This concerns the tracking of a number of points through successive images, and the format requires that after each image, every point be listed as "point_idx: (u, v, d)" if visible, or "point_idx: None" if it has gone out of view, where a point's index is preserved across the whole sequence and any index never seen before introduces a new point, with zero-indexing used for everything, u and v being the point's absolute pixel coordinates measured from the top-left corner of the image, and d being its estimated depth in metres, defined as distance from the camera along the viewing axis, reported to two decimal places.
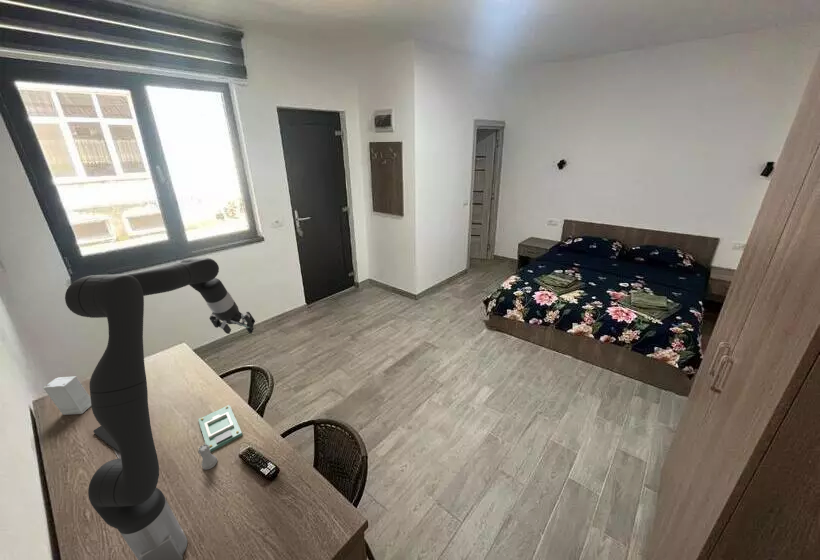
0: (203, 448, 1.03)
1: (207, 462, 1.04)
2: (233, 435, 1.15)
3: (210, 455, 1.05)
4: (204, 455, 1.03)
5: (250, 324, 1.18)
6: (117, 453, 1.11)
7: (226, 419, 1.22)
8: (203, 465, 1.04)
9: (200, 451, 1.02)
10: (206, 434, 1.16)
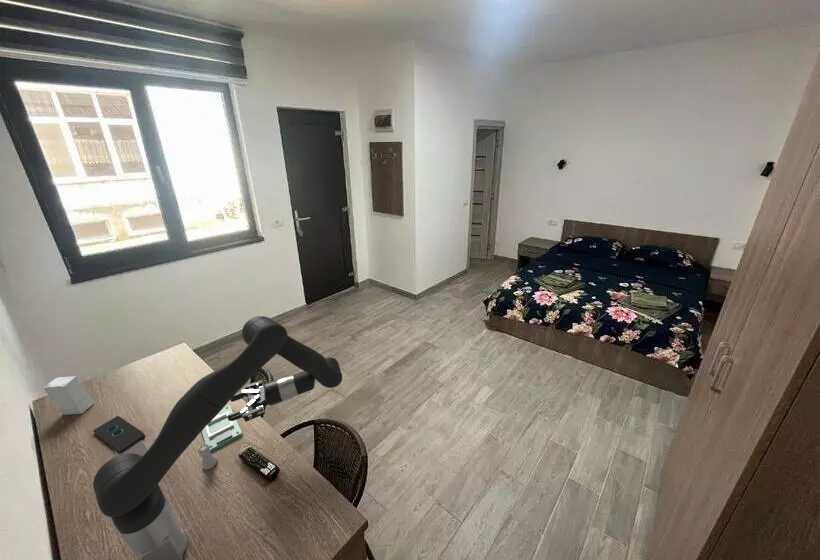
0: (203, 448, 1.03)
1: (207, 462, 1.04)
2: (233, 435, 1.15)
3: (210, 455, 1.05)
4: (204, 455, 1.03)
5: (247, 413, 0.98)
6: (117, 453, 1.11)
7: (226, 419, 1.22)
8: (203, 465, 1.04)
9: (200, 451, 1.02)
10: (206, 434, 1.16)
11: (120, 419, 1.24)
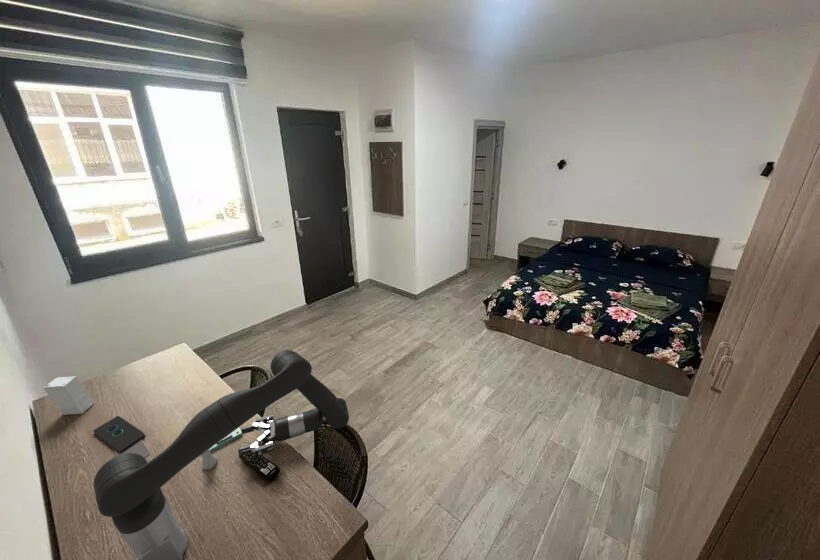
0: None
1: (207, 462, 1.04)
2: (233, 435, 1.15)
3: (210, 455, 1.05)
4: (204, 455, 1.03)
5: (257, 448, 1.03)
6: (117, 453, 1.11)
7: None
8: (203, 465, 1.04)
9: None
10: None
11: (120, 419, 1.24)
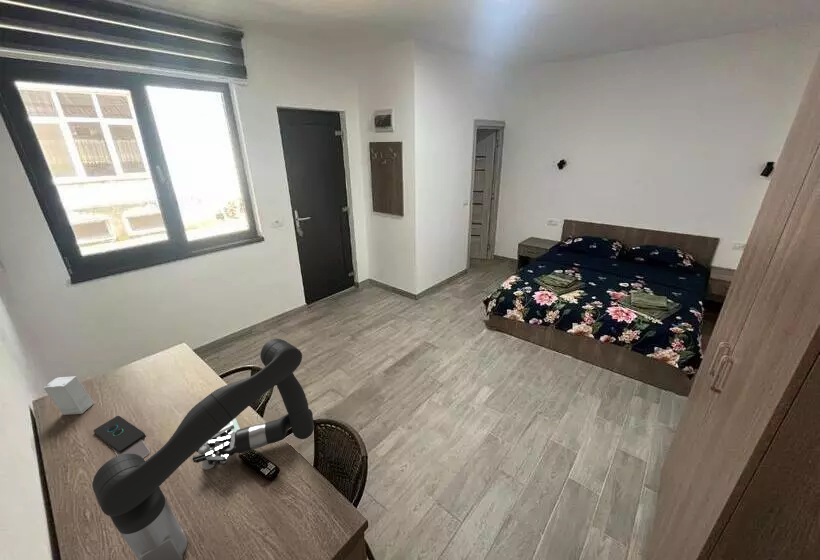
0: (203, 448, 1.03)
1: (207, 462, 1.04)
2: None
3: None
4: None
5: (211, 457, 1.01)
6: (117, 453, 1.11)
7: None
8: (203, 465, 1.04)
9: (200, 451, 1.02)
10: None
11: (120, 419, 1.24)
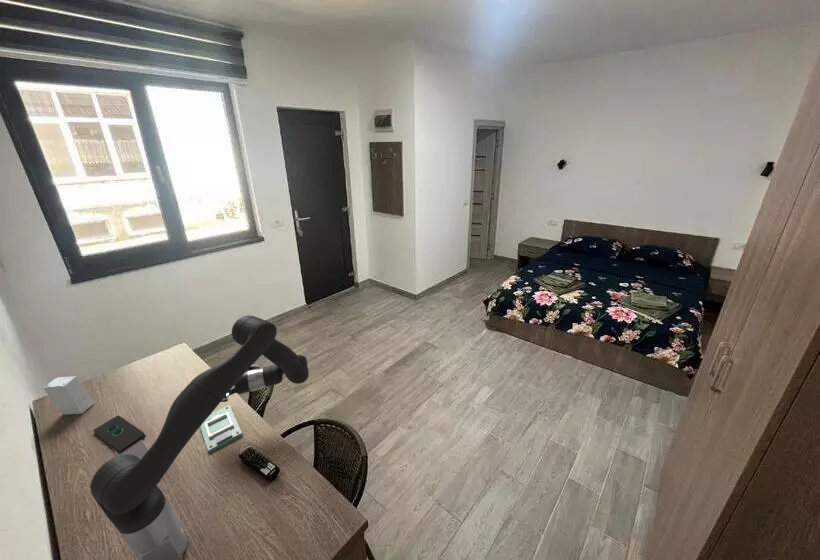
0: None
1: None
2: (233, 435, 1.15)
3: None
4: None
5: None
6: (117, 453, 1.11)
7: (226, 419, 1.22)
8: None
9: None
10: (206, 434, 1.16)
11: (120, 419, 1.24)
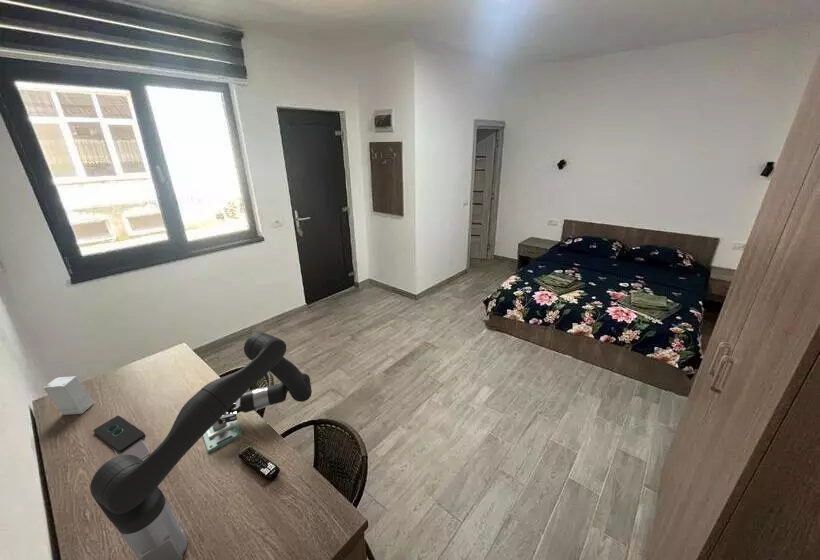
0: None
1: (217, 423, 1.17)
2: (233, 435, 1.15)
3: None
4: None
5: (221, 417, 1.12)
6: (117, 453, 1.11)
7: None
8: (213, 426, 1.17)
9: None
10: (206, 434, 1.16)
11: (120, 419, 1.24)
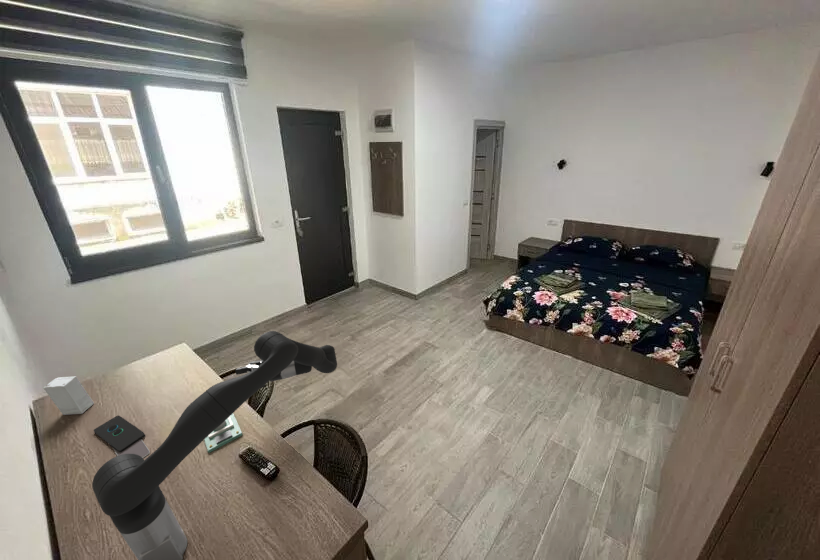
0: None
1: None
2: (233, 435, 1.15)
3: None
4: None
5: None
6: (117, 453, 1.11)
7: (226, 419, 1.22)
8: None
9: None
10: None
11: (120, 418, 1.24)
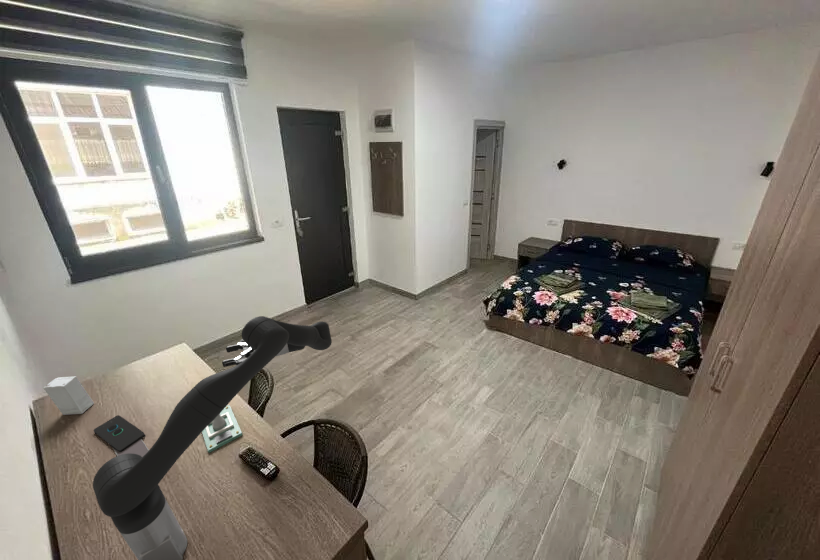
0: None
1: (217, 423, 1.17)
2: (233, 435, 1.15)
3: (220, 417, 1.18)
4: None
5: (240, 360, 1.07)
6: (117, 453, 1.11)
7: (226, 419, 1.22)
8: (214, 426, 1.17)
9: None
10: (206, 434, 1.16)
11: (120, 418, 1.24)
